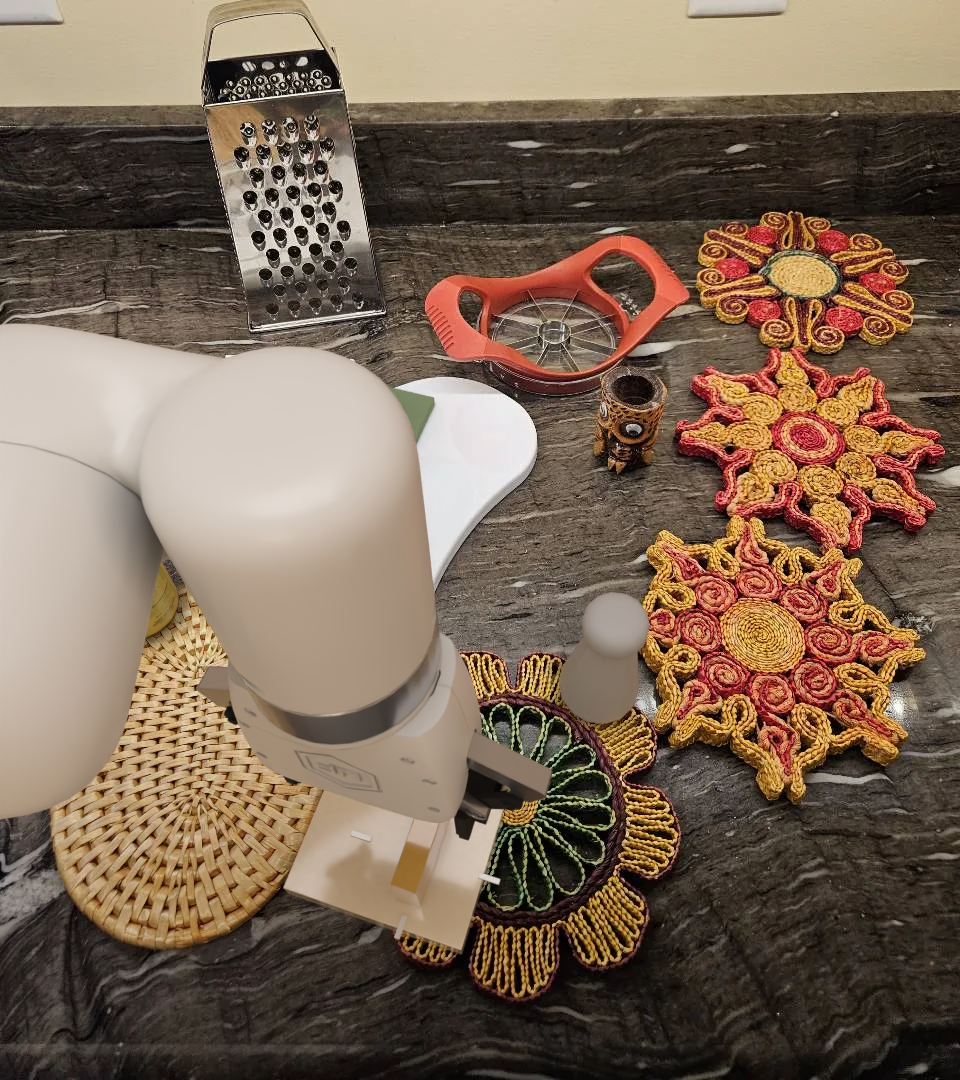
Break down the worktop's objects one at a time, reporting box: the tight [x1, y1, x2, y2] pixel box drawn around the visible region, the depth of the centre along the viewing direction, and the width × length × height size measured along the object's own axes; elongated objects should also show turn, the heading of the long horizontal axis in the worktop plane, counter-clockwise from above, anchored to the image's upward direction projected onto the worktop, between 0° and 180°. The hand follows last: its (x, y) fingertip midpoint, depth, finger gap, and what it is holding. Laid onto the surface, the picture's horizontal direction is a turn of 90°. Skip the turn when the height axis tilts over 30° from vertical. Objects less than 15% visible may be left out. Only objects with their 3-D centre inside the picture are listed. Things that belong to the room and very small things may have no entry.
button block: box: [384, 382, 436, 445], centre depth 78 cm, size 10×9×4 cm
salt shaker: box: [558, 591, 651, 725], centre depth 60 cm, size 6×6×13 cm
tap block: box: [283, 790, 504, 955], centre depth 57 cm, size 13×10×3 cm
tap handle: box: [391, 819, 450, 908], centre depth 54 cm, size 6×2×5 cm, turn 162°
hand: (387, 784), depth 47 cm, fingers open, 9 cm apart
